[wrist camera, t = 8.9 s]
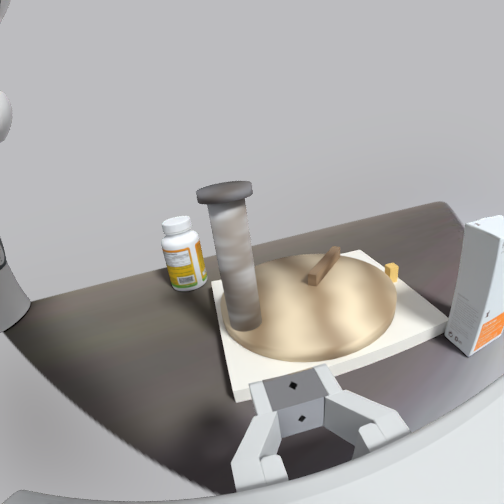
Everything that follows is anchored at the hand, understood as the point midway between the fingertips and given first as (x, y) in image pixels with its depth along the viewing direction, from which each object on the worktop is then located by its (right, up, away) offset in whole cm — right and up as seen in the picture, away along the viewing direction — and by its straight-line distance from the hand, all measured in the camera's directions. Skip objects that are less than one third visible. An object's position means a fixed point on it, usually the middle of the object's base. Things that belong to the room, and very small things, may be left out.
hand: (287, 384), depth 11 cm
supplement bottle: (-10, 0, +34) cm, 36 cm away
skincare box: (+21, -4, +13) cm, 26 cm away
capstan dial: (+5, 0, +22) cm, 23 cm away
